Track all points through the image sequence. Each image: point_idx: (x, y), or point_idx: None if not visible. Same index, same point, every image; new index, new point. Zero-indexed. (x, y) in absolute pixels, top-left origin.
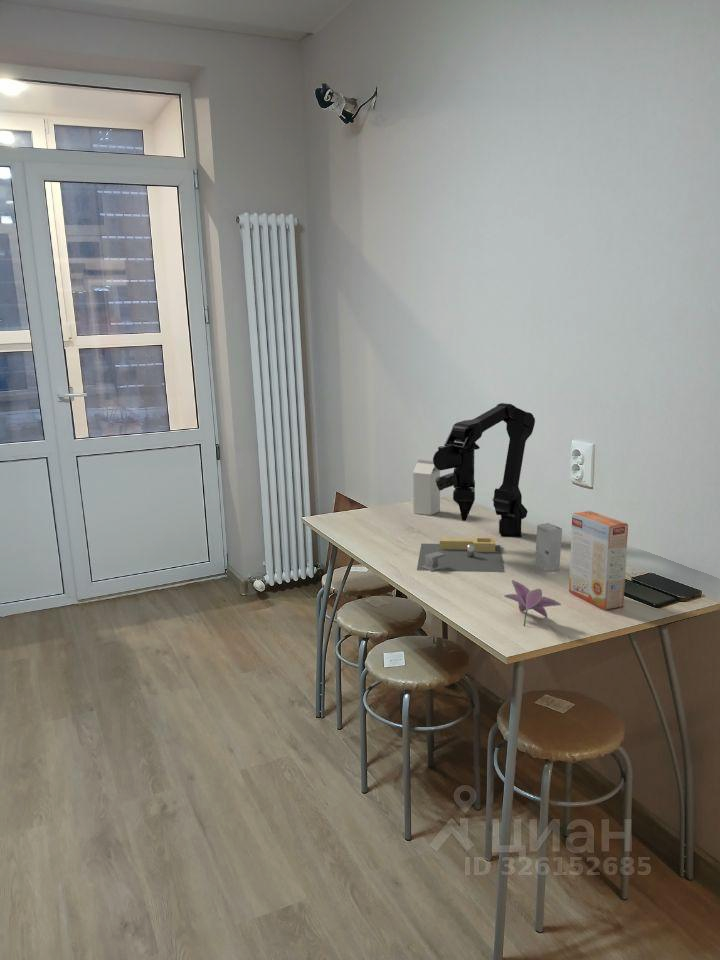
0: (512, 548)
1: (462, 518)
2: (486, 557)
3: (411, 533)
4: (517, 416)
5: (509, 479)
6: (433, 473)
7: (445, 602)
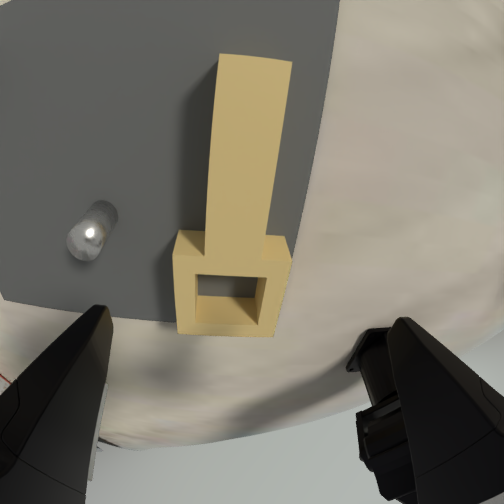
0: (240, 349)
1: (81, 322)
2: (105, 272)
3: (492, 15)
4: None
5: None
6: None
7: None
